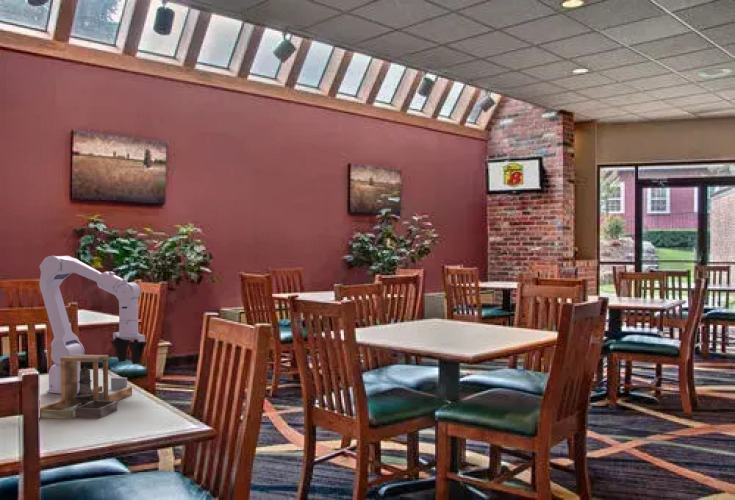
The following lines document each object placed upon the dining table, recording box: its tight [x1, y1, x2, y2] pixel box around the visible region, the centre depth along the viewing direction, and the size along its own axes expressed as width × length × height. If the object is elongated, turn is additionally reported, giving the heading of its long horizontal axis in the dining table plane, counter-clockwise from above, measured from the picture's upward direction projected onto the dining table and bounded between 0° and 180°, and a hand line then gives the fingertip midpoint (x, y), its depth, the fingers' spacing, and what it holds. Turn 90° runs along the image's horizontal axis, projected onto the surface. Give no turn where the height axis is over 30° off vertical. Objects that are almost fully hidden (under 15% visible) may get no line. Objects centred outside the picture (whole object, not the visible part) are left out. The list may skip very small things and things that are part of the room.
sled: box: [99, 376, 128, 401], centre depth 203 cm, size 15×6×5 cm, turn 170°
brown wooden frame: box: [39, 354, 133, 420], centre depth 192 cm, size 30×18×15 cm, turn 170°
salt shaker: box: [74, 365, 93, 408], centre depth 192 cm, size 6×6×12 cm
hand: (129, 362), depth 211 cm, fingers open, 7 cm apart
